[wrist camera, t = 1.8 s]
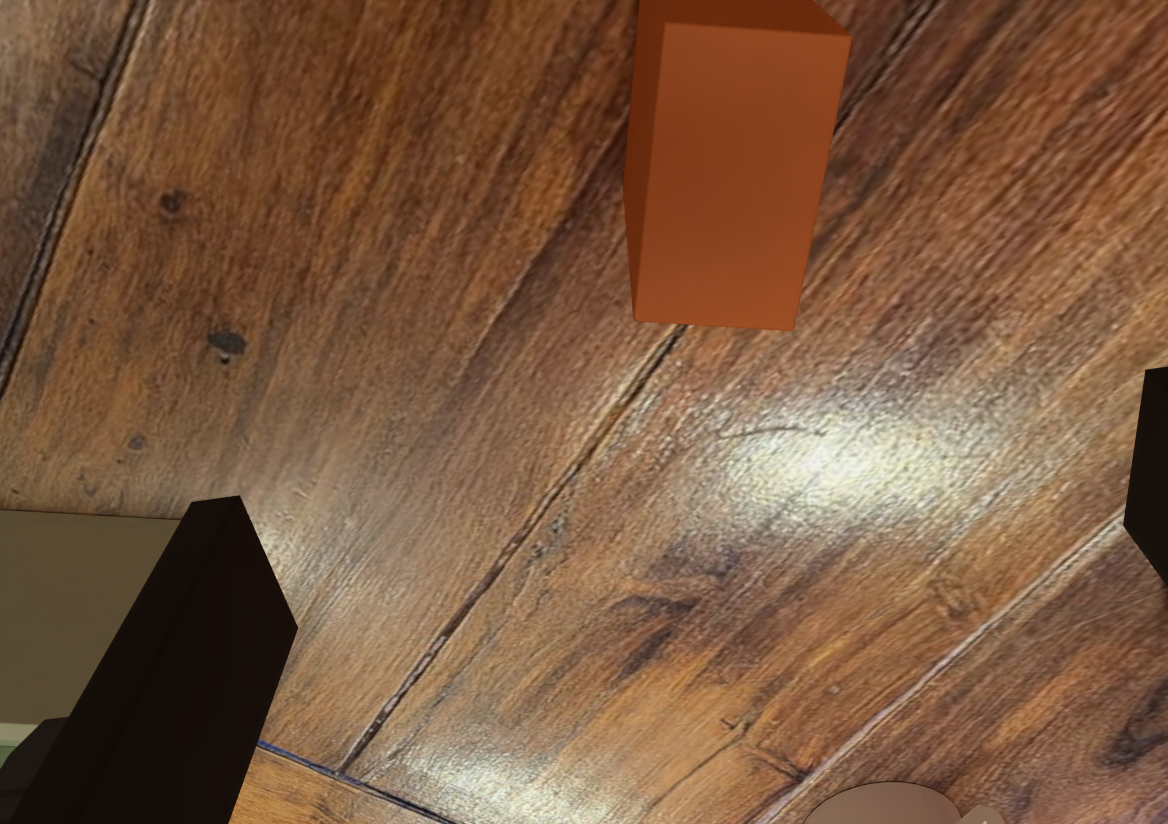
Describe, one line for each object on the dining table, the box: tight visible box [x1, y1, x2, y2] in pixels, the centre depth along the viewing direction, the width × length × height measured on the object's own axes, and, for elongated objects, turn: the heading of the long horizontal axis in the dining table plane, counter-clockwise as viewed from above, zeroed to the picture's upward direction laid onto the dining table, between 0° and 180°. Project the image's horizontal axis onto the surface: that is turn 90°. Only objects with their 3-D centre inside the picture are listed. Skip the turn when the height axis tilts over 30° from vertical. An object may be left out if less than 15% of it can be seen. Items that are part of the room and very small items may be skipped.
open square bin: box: [0, 510, 181, 769], centre depth 39 cm, size 15×15×11 cm
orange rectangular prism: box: [623, 0, 852, 331], centre depth 27 cm, size 4×7×10 cm, turn 176°
